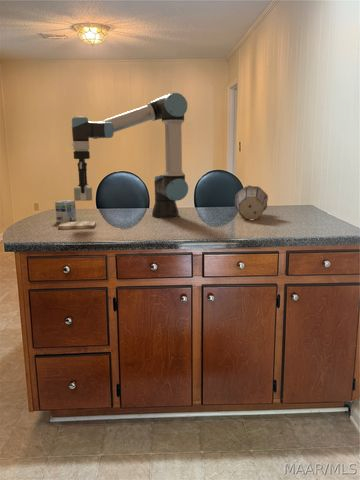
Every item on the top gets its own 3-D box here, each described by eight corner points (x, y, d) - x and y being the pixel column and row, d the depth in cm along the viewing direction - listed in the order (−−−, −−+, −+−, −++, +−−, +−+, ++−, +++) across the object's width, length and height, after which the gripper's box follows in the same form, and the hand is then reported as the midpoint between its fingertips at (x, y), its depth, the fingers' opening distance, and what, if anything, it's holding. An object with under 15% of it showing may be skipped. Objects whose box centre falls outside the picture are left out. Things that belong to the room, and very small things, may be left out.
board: (95, 224, 211) (95, 221, 211) (94, 228, 200) (93, 225, 200) (61, 225, 209) (61, 222, 209) (58, 229, 198) (58, 226, 198)
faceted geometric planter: (269, 193, 211) (265, 175, 237) (234, 195, 213) (234, 177, 240) (269, 225, 218) (265, 204, 245) (235, 226, 221) (235, 205, 248)
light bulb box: (67, 222, 216) (66, 202, 213) (55, 222, 217) (54, 202, 214) (76, 219, 226) (75, 199, 223) (65, 219, 227) (64, 199, 225)
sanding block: (92, 199, 205) (91, 187, 204) (91, 200, 200) (90, 188, 199) (75, 199, 204) (75, 187, 203) (74, 200, 199) (73, 188, 198)
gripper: (75, 150, 206) (78, 197, 211) (70, 150, 188) (73, 201, 193) (91, 150, 206) (93, 196, 211) (87, 150, 189) (90, 201, 194)
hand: (84, 198), depth 202 cm, fingers closed on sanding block, 5 cm apart
